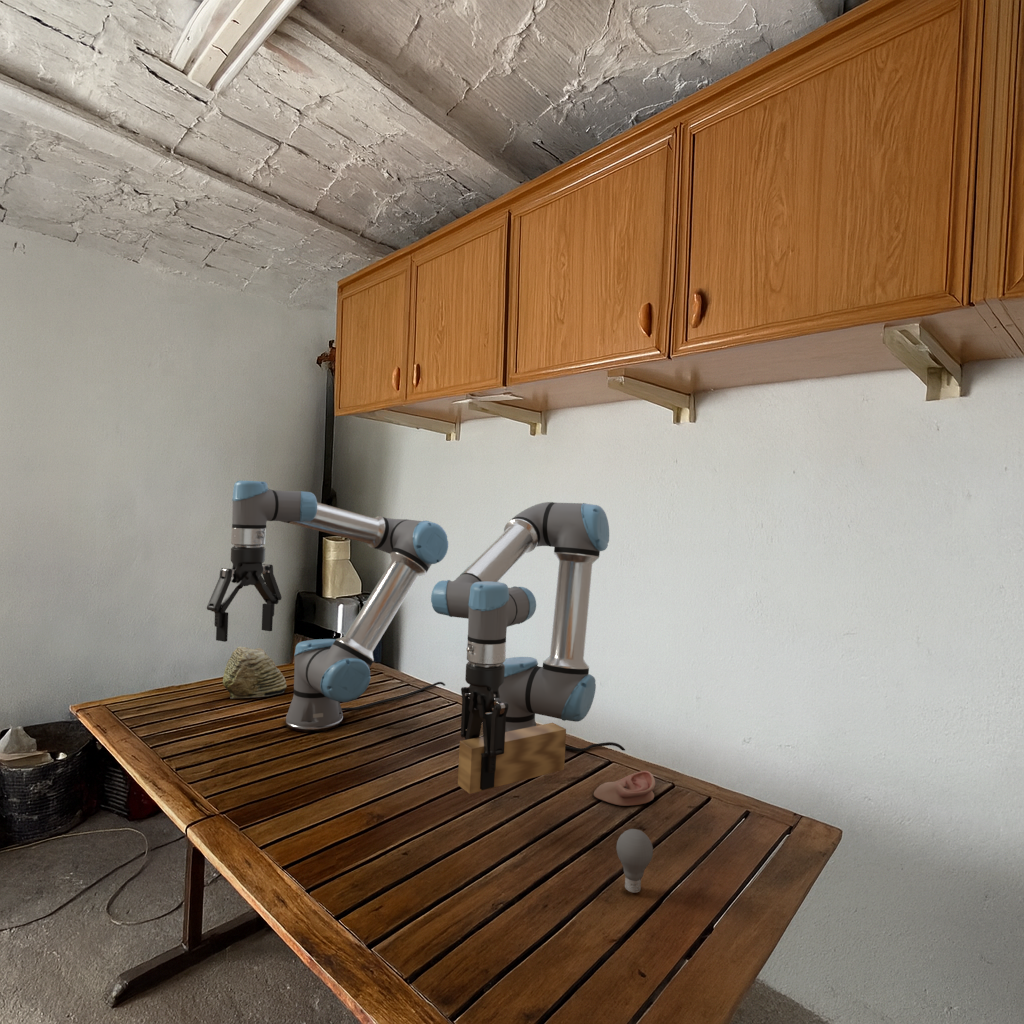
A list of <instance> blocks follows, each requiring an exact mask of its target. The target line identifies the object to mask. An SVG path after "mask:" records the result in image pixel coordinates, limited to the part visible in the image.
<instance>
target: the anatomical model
mask: <svg viewBox="0 0 1024 1024" xmlns="http://www.w3.org/2000/svg"><path fill="white" fill-rule="evenodd" d="M655 787H656V779H655V776H654V775H653V774H652V772H651V771H648V770H641V771H636V772H634V773H631V774H629V775H626V776H624V777H623V778H620V779H618V780H615V781H606V782H604V783H601V784H600V785H599V786H597V787H596V788H595V789H594V792H593V797H595V798H596V799H598V800H600V801H603V802H606V803H608V804H612V805H616V806H621V807H627V806H638V805H643V804H647V803H650V802H651V801H653V800H654V798H655V793H654V791H653V790H654V789H655Z"/></svg>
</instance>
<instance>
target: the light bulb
mask: <svg viewBox="0 0 1024 1024" xmlns="http://www.w3.org/2000/svg"><path fill="white" fill-rule="evenodd" d="M615 849H616V854H617V857H618V859H619V861H620V863H621V865H622V867H623V873H624V874H623V875H624V876H625V878H624V888H625V890H627V891H628V892H630V893H634V894H635V893H639V892H640V891H641V889H642V887H641V886H642V879H643V877H644V875H645V871H646V868H647V867H648V866H649V864H650V863H651V861H652V859H653V855H654V847H653V843H652V841H651V838H649V836H648V835H647V834H646V833H645V832H643V831H642V830H641V829H636V828H629V829H627V830H625V831H623V832H622V833H621V834H620V835H619V837H618V839H617V841H616V847H615Z"/></svg>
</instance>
